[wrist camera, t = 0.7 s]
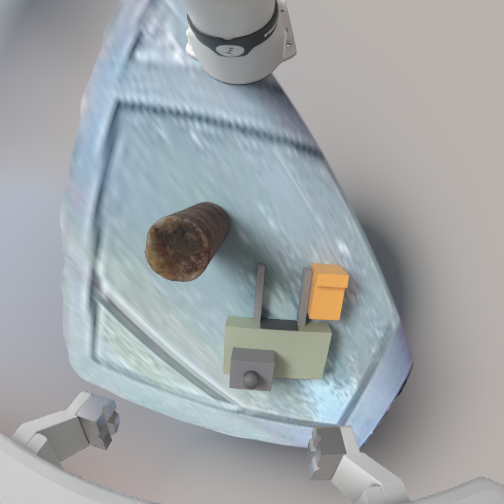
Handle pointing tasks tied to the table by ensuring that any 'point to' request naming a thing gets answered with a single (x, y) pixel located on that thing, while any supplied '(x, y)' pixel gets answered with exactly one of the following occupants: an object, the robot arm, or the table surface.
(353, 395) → the table surface
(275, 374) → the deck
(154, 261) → the candle
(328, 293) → the orange lidded box
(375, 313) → the table surface
